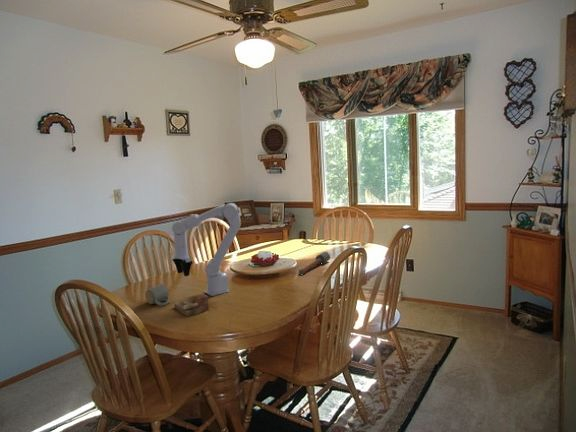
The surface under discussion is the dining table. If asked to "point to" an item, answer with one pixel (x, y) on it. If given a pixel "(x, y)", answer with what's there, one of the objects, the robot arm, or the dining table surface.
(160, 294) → the ceramic mug
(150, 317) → the dining table surface
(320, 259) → the mallet
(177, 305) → the board
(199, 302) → the block with upright post
